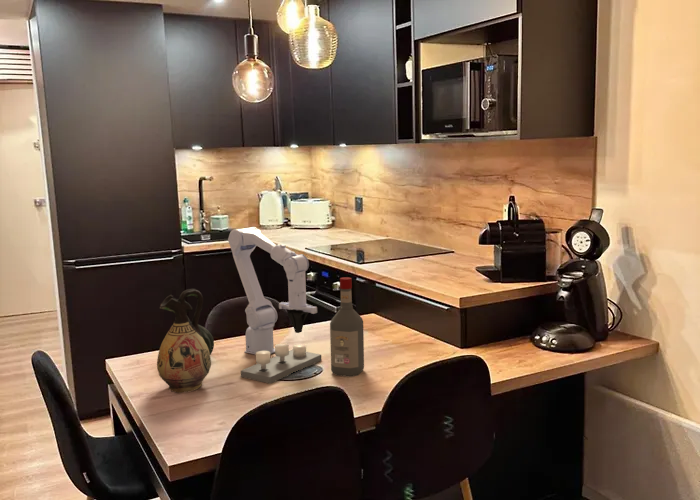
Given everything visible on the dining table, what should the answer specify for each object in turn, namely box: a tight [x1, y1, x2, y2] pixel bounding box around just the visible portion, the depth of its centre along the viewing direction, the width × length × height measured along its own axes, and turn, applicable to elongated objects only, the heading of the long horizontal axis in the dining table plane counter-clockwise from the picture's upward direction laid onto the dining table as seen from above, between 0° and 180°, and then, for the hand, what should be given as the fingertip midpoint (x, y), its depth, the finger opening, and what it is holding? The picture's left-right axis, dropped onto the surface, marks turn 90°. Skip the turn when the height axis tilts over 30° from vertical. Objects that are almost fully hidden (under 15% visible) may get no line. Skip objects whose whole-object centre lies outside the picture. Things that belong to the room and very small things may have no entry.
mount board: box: [240, 348, 322, 385], centre depth 210 cm, size 12×26×2 cm, turn 146°
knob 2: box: [292, 343, 307, 357], centre depth 217 cm, size 4×4×5 cm
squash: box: [198, 323, 215, 356], centre depth 218 cm, size 14×15×15 cm
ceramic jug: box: [156, 288, 212, 394], centre depth 192 cm, size 17×15×30 cm
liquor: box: [329, 276, 365, 378], centre depth 203 cm, size 9×9×30 cm
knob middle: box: [274, 343, 290, 361], centre depth 209 cm, size 4×4×5 cm
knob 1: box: [255, 351, 271, 369], centre depth 202 cm, size 4×4×5 cm
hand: (298, 332), depth 216 cm, fingers closed
